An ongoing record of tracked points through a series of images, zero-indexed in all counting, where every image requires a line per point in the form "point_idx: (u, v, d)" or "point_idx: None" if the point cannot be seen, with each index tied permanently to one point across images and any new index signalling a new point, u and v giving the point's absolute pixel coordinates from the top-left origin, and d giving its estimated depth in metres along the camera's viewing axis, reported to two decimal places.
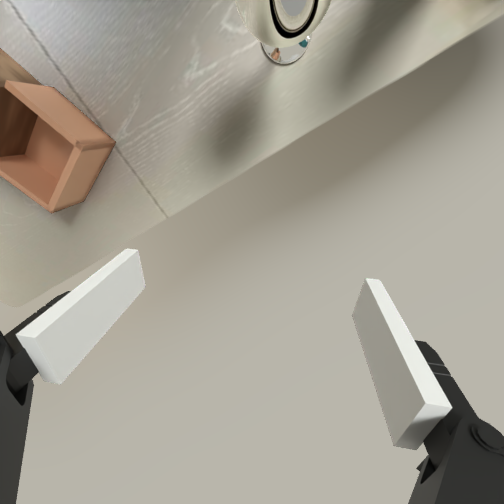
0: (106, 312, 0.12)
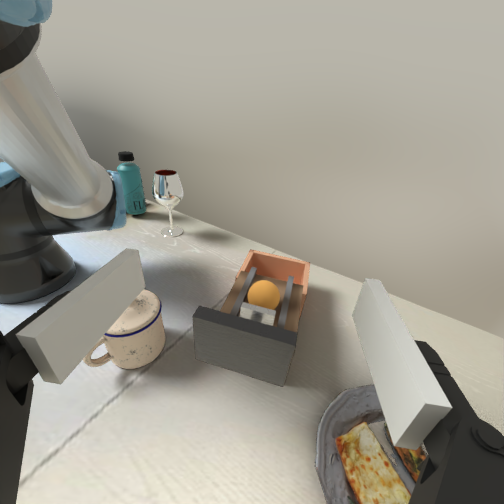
0: (106, 312, 0.12)
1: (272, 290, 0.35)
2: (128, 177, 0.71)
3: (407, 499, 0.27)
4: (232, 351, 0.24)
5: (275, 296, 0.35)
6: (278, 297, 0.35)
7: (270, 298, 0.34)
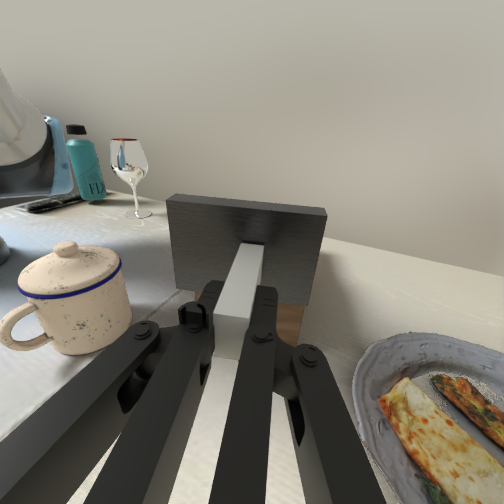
0: None
1: None
2: (80, 154, 0.61)
3: (493, 463, 0.19)
4: (231, 256, 0.16)
5: None
6: None
7: None
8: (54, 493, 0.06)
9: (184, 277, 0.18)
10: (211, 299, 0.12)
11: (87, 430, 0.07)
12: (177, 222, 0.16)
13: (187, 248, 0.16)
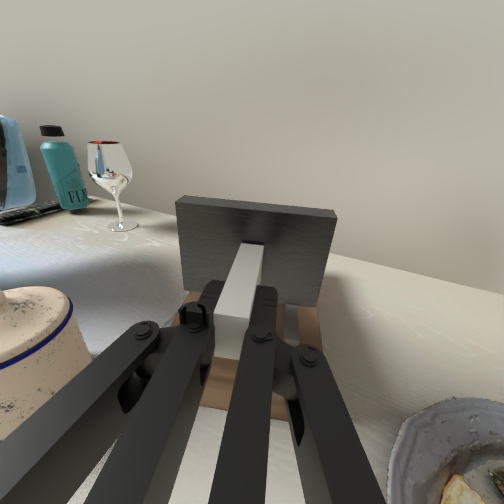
0: None
1: None
2: (56, 158, 0.54)
3: None
4: None
5: None
6: None
7: None
8: (54, 493, 0.06)
9: (192, 279, 0.18)
10: (211, 299, 0.12)
11: (87, 430, 0.07)
12: (186, 224, 0.16)
13: (195, 250, 0.16)
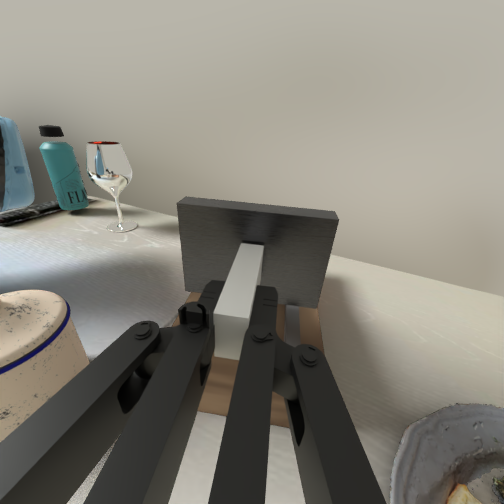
0: None
1: None
2: (56, 158, 0.53)
3: None
4: None
5: None
6: None
7: None
8: (54, 493, 0.06)
9: (193, 280, 0.18)
10: (211, 299, 0.12)
11: (87, 430, 0.07)
12: (187, 225, 0.16)
13: (197, 251, 0.17)
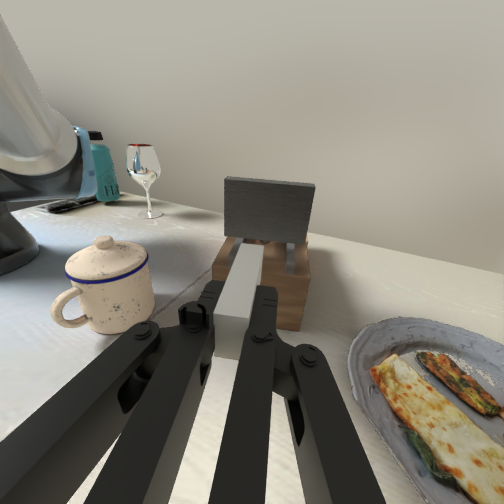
0: None
1: None
2: (97, 158, 0.65)
3: (463, 417, 0.23)
4: (259, 213, 0.28)
5: None
6: None
7: None
8: (54, 493, 0.06)
9: (230, 228, 0.29)
10: (211, 299, 0.12)
11: (87, 430, 0.07)
12: (229, 192, 0.27)
13: (234, 208, 0.28)
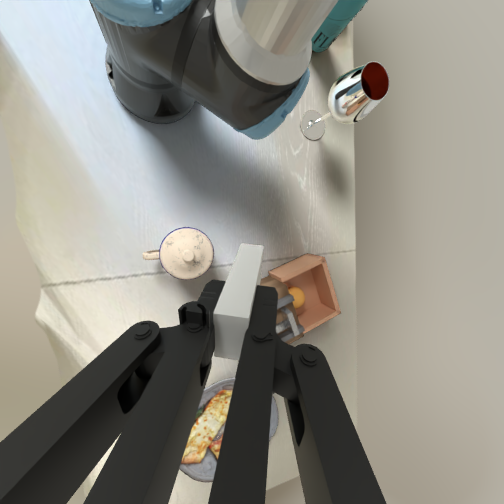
0: None
1: None
2: None
3: (221, 422, 0.55)
4: None
5: None
6: None
7: None
8: (54, 493, 0.06)
9: None
10: (211, 299, 0.12)
11: (87, 430, 0.07)
12: None
13: None
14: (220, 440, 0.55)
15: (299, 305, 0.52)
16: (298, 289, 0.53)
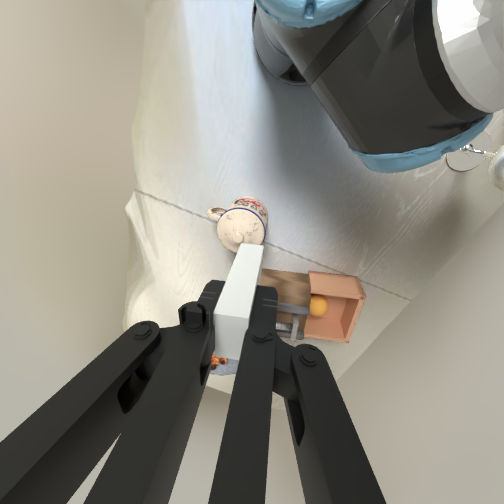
0: None
1: None
2: None
3: None
4: None
5: None
6: None
7: None
8: (54, 493, 0.06)
9: None
10: (211, 299, 0.12)
11: (87, 430, 0.07)
12: None
13: None
14: None
15: (316, 315, 0.54)
16: (324, 303, 0.54)
